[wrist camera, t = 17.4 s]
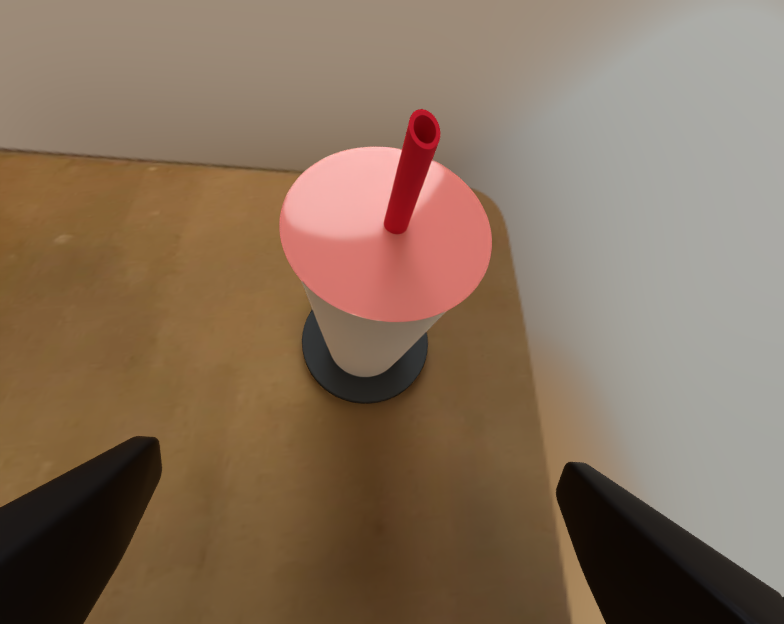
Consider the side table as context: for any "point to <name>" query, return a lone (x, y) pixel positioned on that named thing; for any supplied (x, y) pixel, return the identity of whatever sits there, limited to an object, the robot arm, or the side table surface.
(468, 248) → the cup
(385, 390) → the coaster
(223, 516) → the side table surface
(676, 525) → the robot arm
